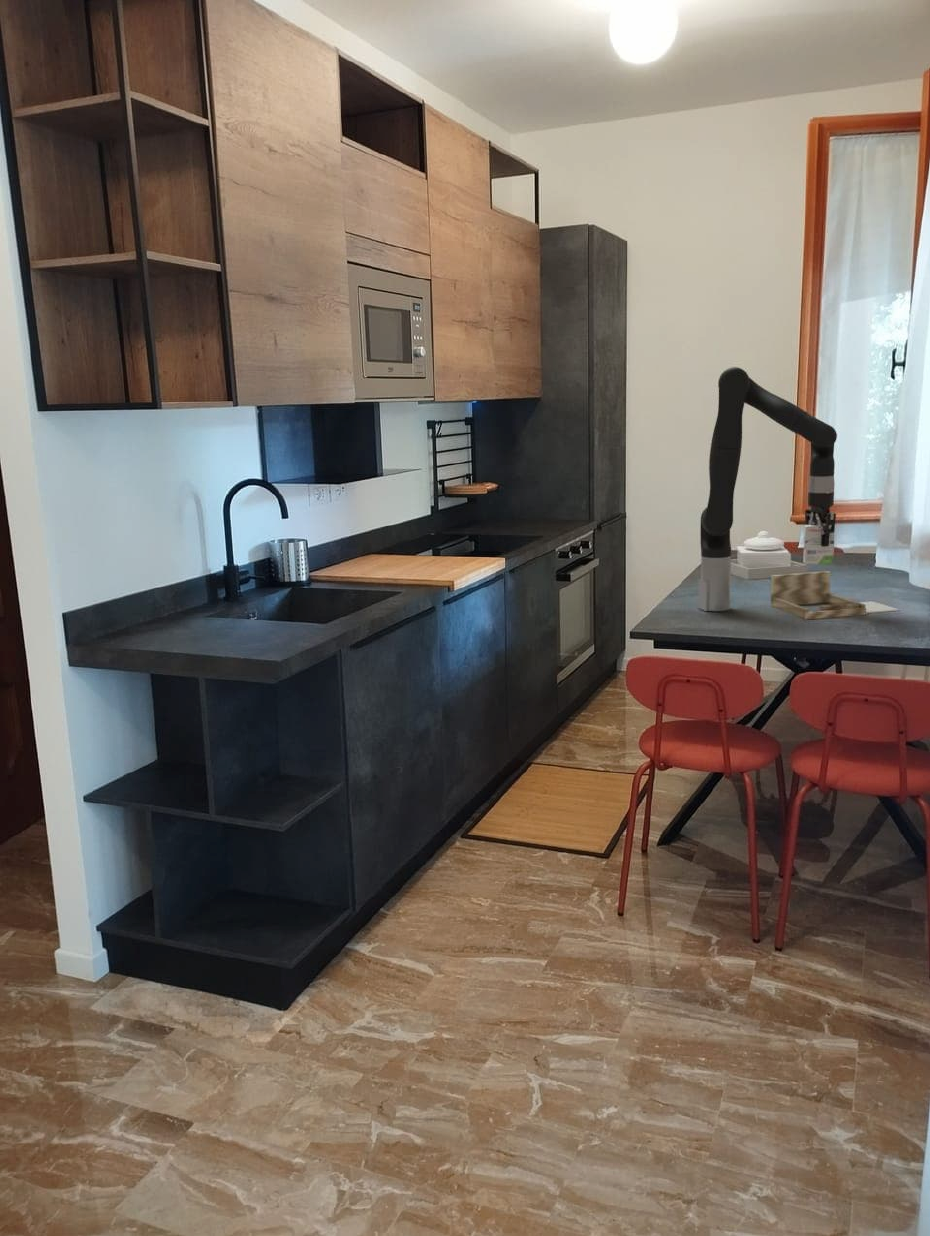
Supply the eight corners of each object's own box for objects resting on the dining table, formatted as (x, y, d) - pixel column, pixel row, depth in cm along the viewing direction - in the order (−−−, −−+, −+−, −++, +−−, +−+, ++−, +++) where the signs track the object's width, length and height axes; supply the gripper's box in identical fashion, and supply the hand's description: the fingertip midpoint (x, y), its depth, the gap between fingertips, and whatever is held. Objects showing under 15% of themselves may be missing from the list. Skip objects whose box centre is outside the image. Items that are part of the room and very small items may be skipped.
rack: (805, 619, 302) (807, 586, 300) (770, 606, 323) (771, 575, 321) (865, 614, 306) (867, 582, 304) (827, 601, 327) (828, 571, 325)
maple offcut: (849, 615, 306) (850, 605, 306) (845, 613, 309) (846, 604, 308) (858, 614, 307) (859, 604, 306) (854, 612, 309) (855, 603, 308)
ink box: (831, 561, 313) (833, 524, 310) (833, 564, 308) (835, 526, 306) (802, 561, 315) (804, 524, 312) (804, 564, 310) (805, 526, 308)
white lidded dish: (790, 576, 373) (791, 533, 370) (740, 576, 376) (741, 534, 373) (783, 568, 390) (784, 527, 387) (735, 568, 393) (736, 528, 390)
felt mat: (863, 613, 307) (863, 612, 307) (838, 605, 320) (838, 604, 320) (899, 610, 309) (899, 609, 309) (872, 602, 323) (872, 601, 322)
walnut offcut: (823, 611, 304) (823, 606, 304) (819, 610, 307) (820, 605, 306) (845, 610, 305) (845, 605, 305) (841, 608, 307) (841, 604, 307)
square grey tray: (748, 579, 370) (748, 569, 369) (720, 570, 392) (720, 560, 391) (806, 575, 374) (806, 564, 373) (775, 566, 396) (775, 556, 396)
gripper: (797, 489, 313) (795, 542, 317) (822, 493, 299) (820, 548, 303) (819, 488, 314) (817, 541, 318) (845, 492, 301) (842, 547, 304)
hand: (818, 544), depth 310 cm, fingers closed on ink box, 6 cm apart
